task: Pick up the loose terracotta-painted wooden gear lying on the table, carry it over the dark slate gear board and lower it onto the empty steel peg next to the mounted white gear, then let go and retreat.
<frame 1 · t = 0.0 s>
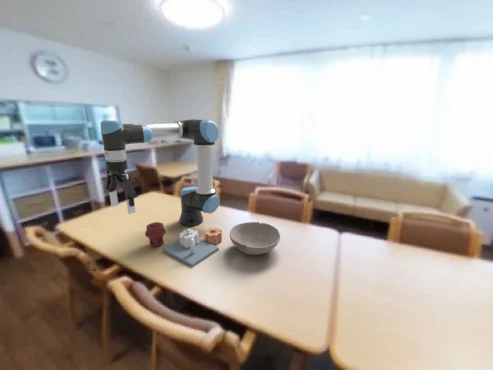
hand: (123, 209, 101), 28 cm above the table, fingers open, 13 cm apart
white gear: (189, 238, 126), point 4 cm above the table, hinge at 10.0°
bowl: (254, 249, 125), on the table
mechanical component: (156, 244, 127), on the table
terracotta gear: (213, 240, 132), on the table
gear board: (191, 250, 122), on the table
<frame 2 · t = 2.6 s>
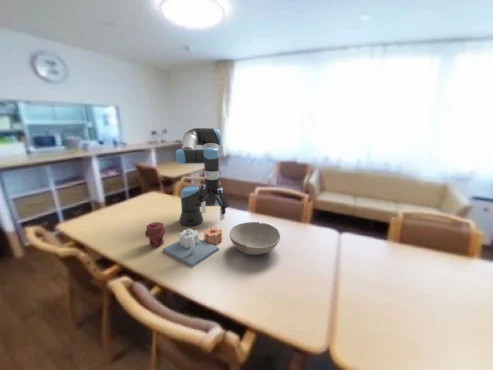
hand: (212, 216, 128), 15 cm above the table, fingers open, 13 cm apart
nothing on the table moved.
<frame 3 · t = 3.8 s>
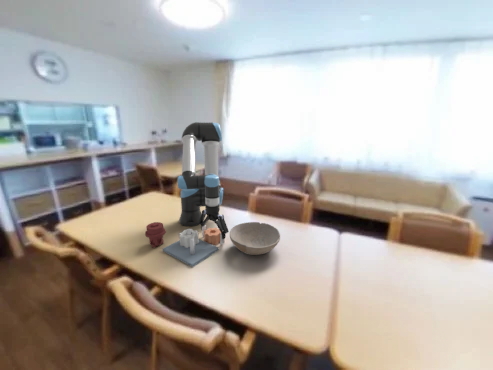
hand: (213, 239, 132), 0 cm above the table, fingers open, 13 cm apart
nothing on the table moved.
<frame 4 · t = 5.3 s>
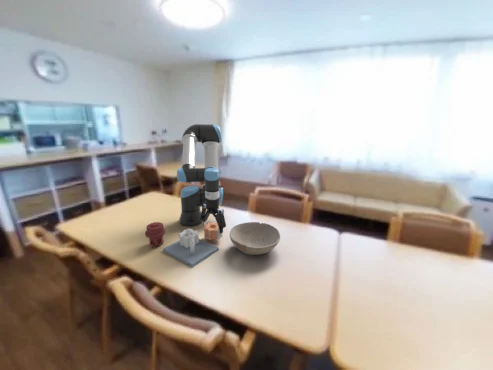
hand: (213, 234, 132), 3 cm above the table, fingers closed on terracotta gear, 10 cm apart
terracotta gear: (213, 235, 132), point 3 cm above the table, touching gripper
everything else where it was.
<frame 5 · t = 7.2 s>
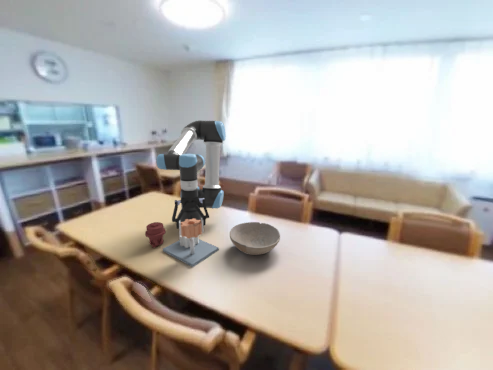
hand: (191, 232, 114), 13 cm above the table, fingers closed on terracotta gear, 10 cm apart
terracotta gear: (191, 233, 114), point 13 cm above the table, touching gripper
everything else where it was.
when the fingers open (4 cm above the table, at t = 9.3 s): terracotta gear drops 2 cm, resting on gear board.
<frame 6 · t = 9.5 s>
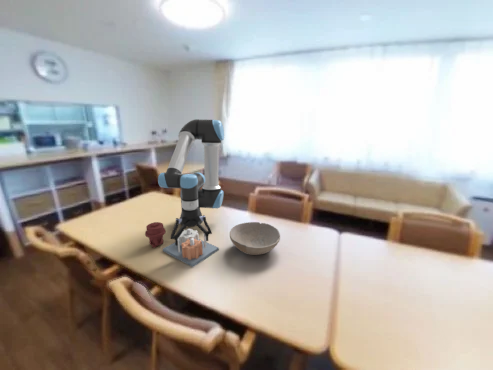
hand: (192, 248, 116), 4 cm above the table, fingers open, 12 cm apart
terracotta gear: (192, 253, 117), point 1 cm above the table, touching gear board
everything else where it was.
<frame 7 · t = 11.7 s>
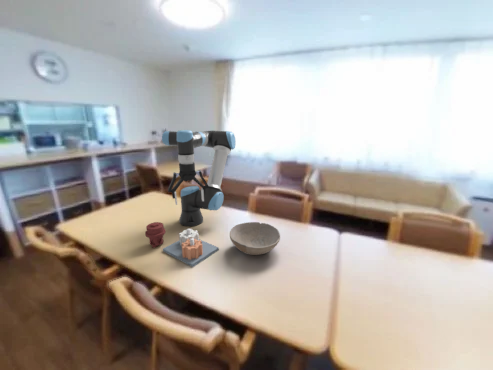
hand: (189, 202, 124), 23 cm above the table, fingers open, 13 cm apart
nothing on the table moved.
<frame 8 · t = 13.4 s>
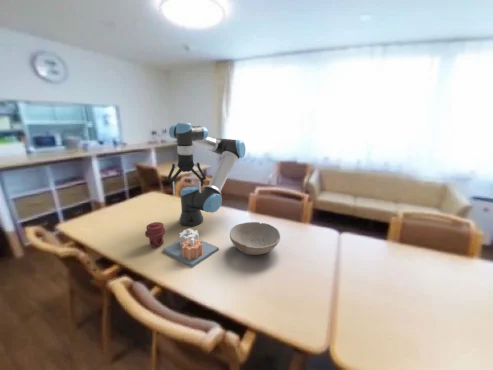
hand: (187, 193, 128), 27 cm above the table, fingers open, 13 cm apart
nothing on the table moved.
at the end: terracotta gear 0.0 cm from the target spot on the gear board, point 1.5 cm above the gear board's base; the gripper is holding nothing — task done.
